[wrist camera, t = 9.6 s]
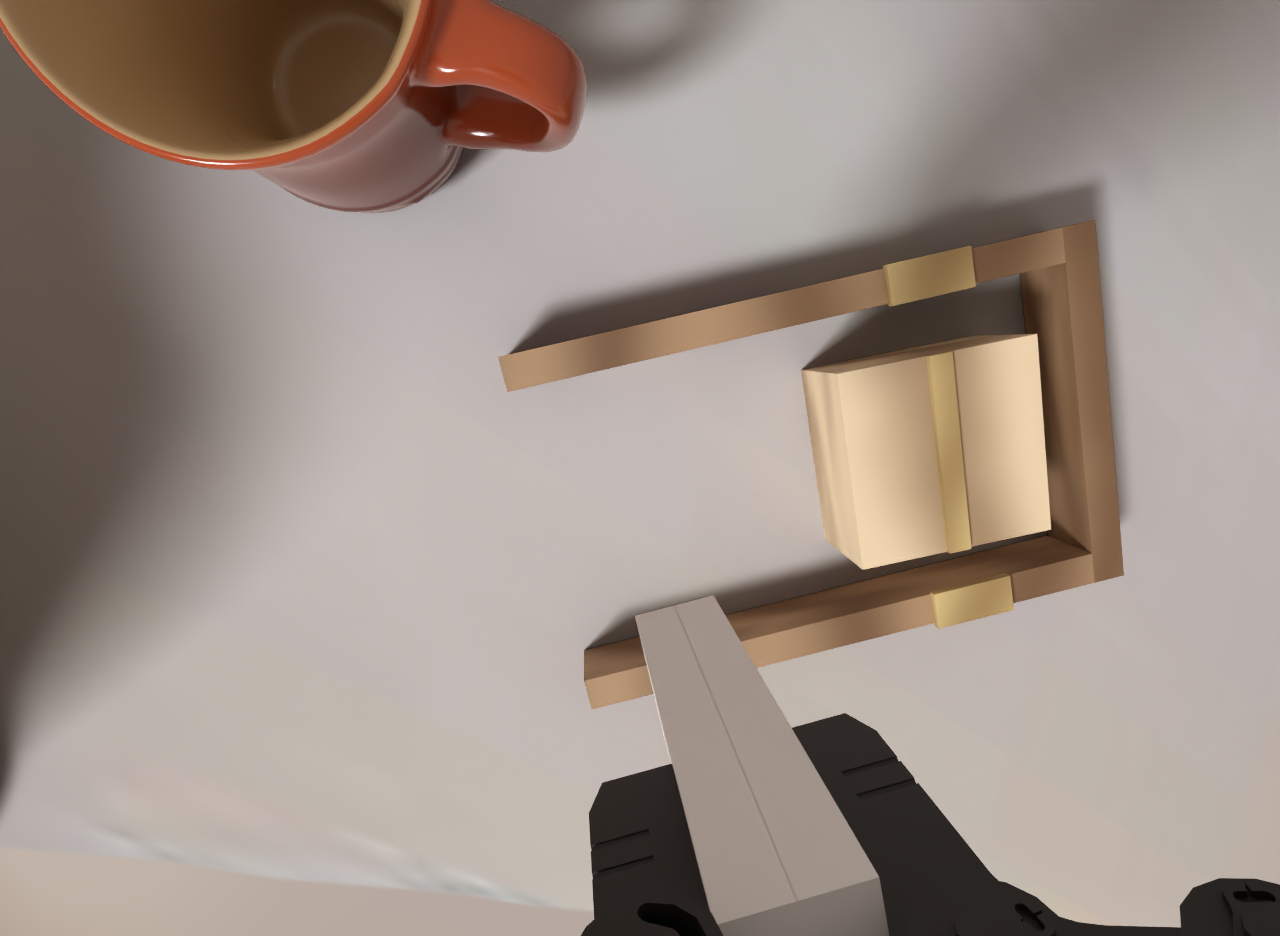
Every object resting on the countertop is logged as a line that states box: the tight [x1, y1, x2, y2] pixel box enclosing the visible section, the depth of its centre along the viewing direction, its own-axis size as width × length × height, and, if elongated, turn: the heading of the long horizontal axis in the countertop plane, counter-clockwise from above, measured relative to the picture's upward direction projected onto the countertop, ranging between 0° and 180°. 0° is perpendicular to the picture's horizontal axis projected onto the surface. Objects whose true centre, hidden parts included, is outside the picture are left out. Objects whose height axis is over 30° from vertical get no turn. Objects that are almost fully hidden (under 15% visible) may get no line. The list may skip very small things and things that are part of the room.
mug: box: [0, 0, 587, 213], centre depth 18 cm, size 12×9×10 cm
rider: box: [801, 334, 1051, 570], centre depth 25 cm, size 7×7×4 cm
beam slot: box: [498, 220, 1124, 709], centre depth 25 cm, size 21×14×3 cm, turn 103°
